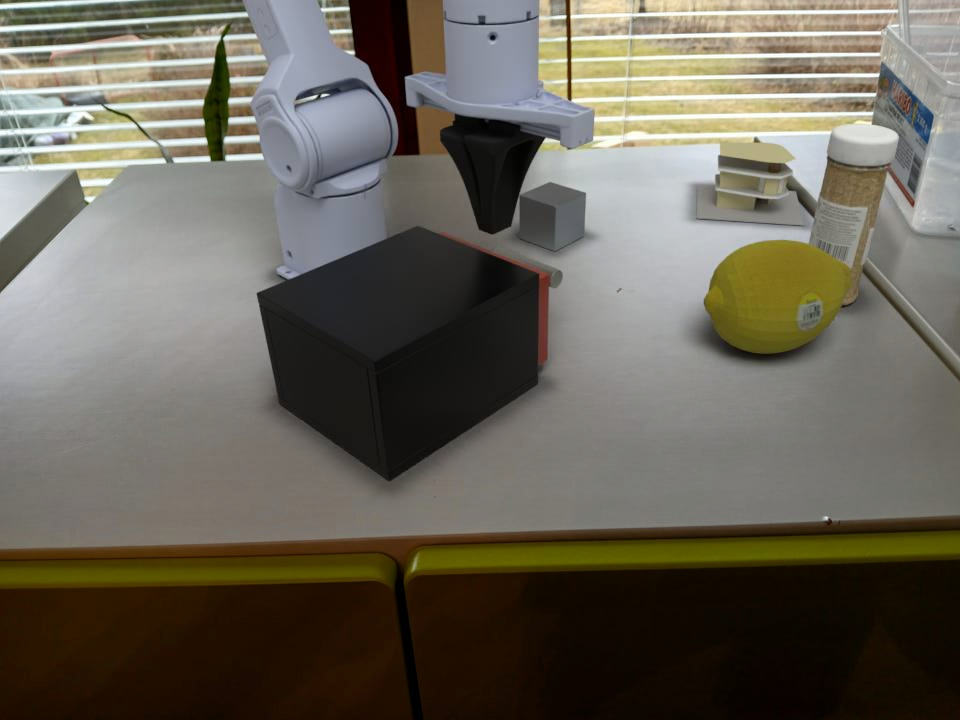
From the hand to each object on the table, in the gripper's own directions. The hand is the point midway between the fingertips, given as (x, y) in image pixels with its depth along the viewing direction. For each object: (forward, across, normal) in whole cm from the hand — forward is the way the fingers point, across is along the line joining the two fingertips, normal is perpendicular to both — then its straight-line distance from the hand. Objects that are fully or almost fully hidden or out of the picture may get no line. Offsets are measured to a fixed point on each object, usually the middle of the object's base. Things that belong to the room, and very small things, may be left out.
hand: (495, 227), depth 55 cm
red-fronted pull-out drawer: (+8, 0, +4) cm, 10 cm away
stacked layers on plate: (+10, -1, -36) cm, 37 cm away
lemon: (+10, -15, -13) cm, 22 cm away
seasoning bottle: (+10, -15, -23) cm, 29 cm away
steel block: (+9, +9, -17) cm, 22 cm away
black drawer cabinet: (+9, 0, +9) cm, 13 cm away
